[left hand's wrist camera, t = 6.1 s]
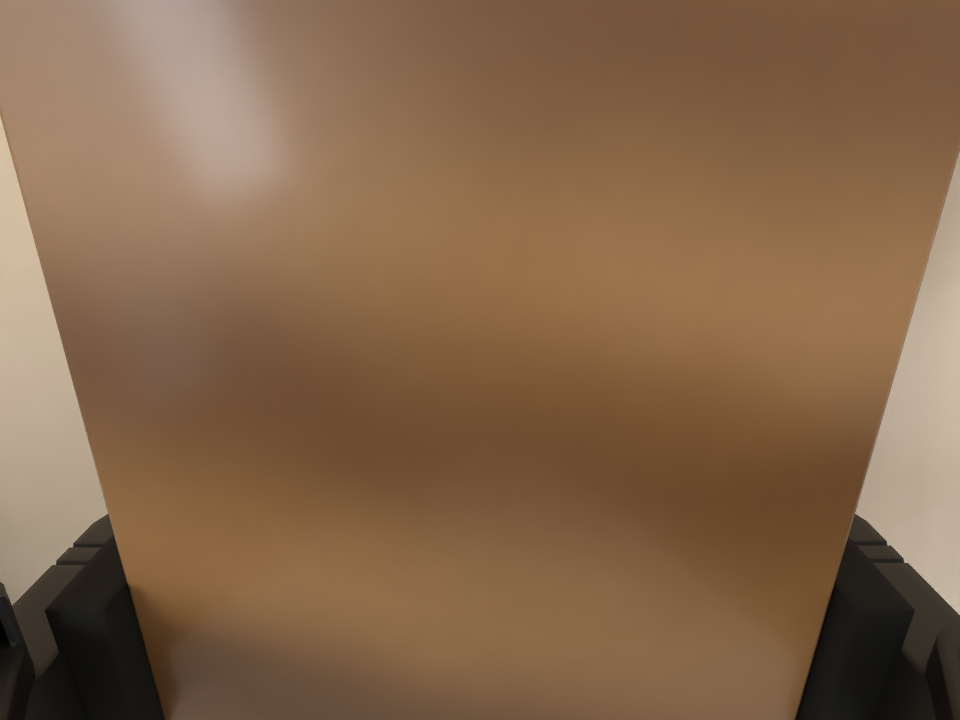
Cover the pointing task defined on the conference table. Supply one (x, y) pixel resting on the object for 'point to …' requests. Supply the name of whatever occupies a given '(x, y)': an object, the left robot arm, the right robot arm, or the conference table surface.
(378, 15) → the striped wooden beam
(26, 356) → the conference table surface
